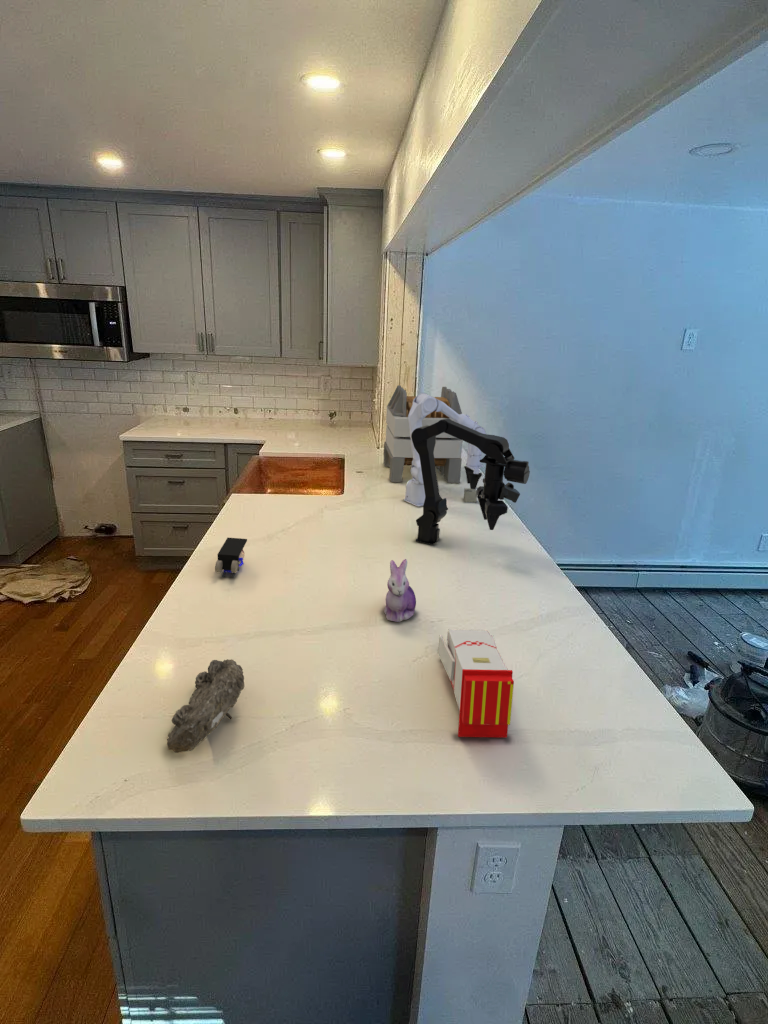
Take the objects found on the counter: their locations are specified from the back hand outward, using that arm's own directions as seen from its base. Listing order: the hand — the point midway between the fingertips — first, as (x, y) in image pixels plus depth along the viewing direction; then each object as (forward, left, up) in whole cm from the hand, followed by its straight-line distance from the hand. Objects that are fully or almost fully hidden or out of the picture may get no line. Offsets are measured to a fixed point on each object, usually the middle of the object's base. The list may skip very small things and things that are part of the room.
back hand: (471, 486), depth 236 cm
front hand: (+43, -37, +4) cm, 56 cm away
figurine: (+57, -84, -6) cm, 102 cm away
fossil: (+67, -138, -6) cm, 154 cm away
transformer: (-43, +9, -6) cm, 44 cm away
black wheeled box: (+9, -109, -6) cm, 110 cm away
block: (0, 0, -6) cm, 6 cm away
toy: (+90, -92, -6) cm, 128 cm away
